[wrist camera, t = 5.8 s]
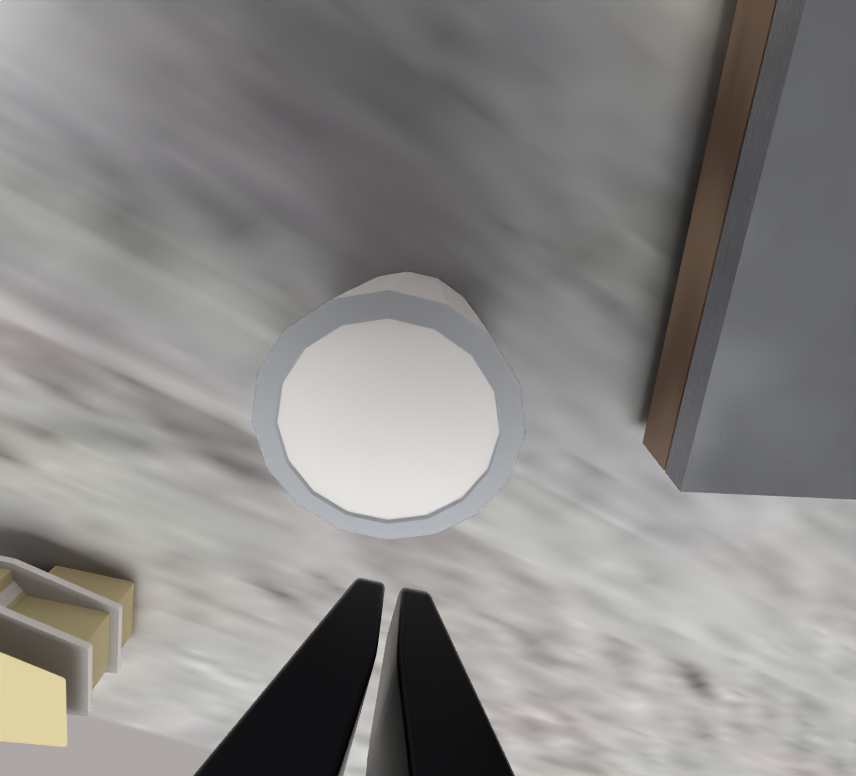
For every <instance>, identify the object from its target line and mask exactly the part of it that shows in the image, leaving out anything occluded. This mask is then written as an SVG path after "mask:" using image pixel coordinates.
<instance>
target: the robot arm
mask: <svg viewBox="0 0 856 776" xmlns="http://www.w3.org/2000/svg"><path fill="white" fill-rule="evenodd" d="M384 589H385V587H384V584H383V583H381V582H378V581H373V580H368V579H363V578H359V579H357V580H355V581H354V582H353V584H352V585H351V586H350V587H349V588H348V590H347V591H346V592H345V593H344V594H343V596H342V597H341V598H340V599H339V600H338V602H337V603H336V604H335V605H334V606H333V608H332V609H331V610H330V611H329V613H328V614H327V615H326V616H325V617H324V619H323V620H322V621H321V622H320V623H319V625H318V626H317V627H316V628H315V629H314V631H313V632H312V633H311V634H310V635H309V637H308V638H307V639H306V640H305V642H304V643H303V644H302V645H301V646H300V648H299V649H298V650H297V651H296V652H295V654H294V655H293V656H292V657H291V658H290V660H289V661H288V662H287V663H286V664H285V666H284V667H283V668H282V669H281V671H280V672H279V673H278V674H277V675H276V677H275V678H274V679H273V680H272V681H271V683H270V684H269V685H268V686H267V687H266V689H265V690H264V691H263V692H262V693H261V695H260V696H259V697H258V698H257V700H256V701H255V702H254V703H253V704H252V706H251V707H250V708H249V709H248V710H247V712H246V713H245V714H244V715H243V716H242V718H241V719H240V720H239V721H238V722H237V724H236V725H235V726H234V727H233V729H232V730H231V731H230V732H229V733H228V735H227V736H226V737H225V738H224V739H223V741H222V742H221V743H220V744H219V745H218V747H217V748H216V749H215V750H214V751H213V753H212V754H211V755H210V756H209V758H208V759H207V760H206V761H205V762H204V764H203V765H202V766H201V767H200V768H199V770H198V771H197V772H196V773H195V774H194V776H343V774H344V770H345V767H346V763H347V760H348V756H349V752H350V749H351V745H352V741H353V738H354V734H355V731H356V727H357V723H358V720H359V716H360V712H361V709H362V705H363V702H364V698H365V694H366V691H367V687H368V684H369V680H370V676H371V673H372V669H373V665H374V662H375V658H376V653H377V647H378V640H379V632H380V624H381V615H382V607H383V598H384ZM366 776H515V775H514V773H513V771H512V769H511V766H510V764H509V762H508V760H507V758H506V756H505V754H504V751H503V749H502V747H501V745H500V743H499V741H498V739H497V737H496V734H495V732H494V730H493V728H492V726H491V724H490V722H489V719H488V717H487V715H486V713H485V711H484V709H483V707H482V705H481V702H480V700H479V698H478V696H477V694H476V692H475V690H474V688H473V685H472V683H471V681H470V679H469V677H468V675H467V673H466V670H465V668H464V666H463V664H462V662H461V660H460V658H459V656H458V653H457V651H456V649H455V647H454V645H453V643H452V641H451V638H450V636H449V634H448V632H447V630H446V628H445V626H444V624H443V621H442V619H441V617H440V615H439V613H438V611H437V609H436V606H435V604H434V602H433V600H432V598H431V596H430V595H429V594H428V593H427V592H425V591H420V590H415V589H411V588H402V590H401V591H400V593H399V596H398V599H397V603H396V606H395V610H394V613H393V617H392V620H391V624H390V627H389V631H388V636H387V640H386V646H385V652H384V658H383V664H382V670H381V676H380V682H379V688H378V694H377V700H376V706H375V712H374V718H373V724H372V731H371V737H370V744H369V751H368V758H367V770H366Z"/></svg>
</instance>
